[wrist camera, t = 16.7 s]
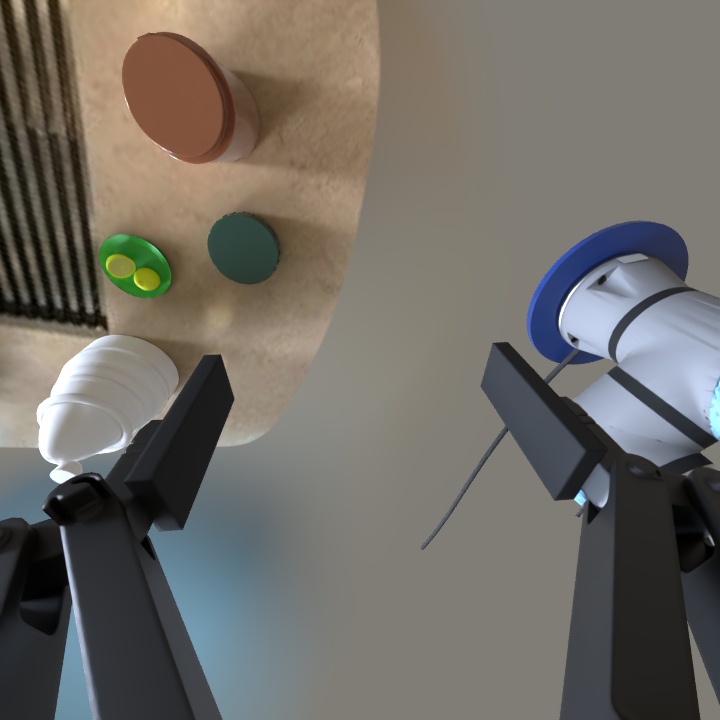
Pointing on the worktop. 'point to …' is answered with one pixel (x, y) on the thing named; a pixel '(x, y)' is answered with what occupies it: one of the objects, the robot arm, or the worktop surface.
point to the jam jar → (189, 100)
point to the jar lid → (244, 248)
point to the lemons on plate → (135, 266)
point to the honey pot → (103, 400)
